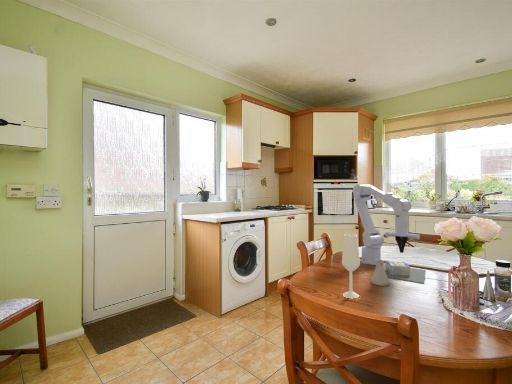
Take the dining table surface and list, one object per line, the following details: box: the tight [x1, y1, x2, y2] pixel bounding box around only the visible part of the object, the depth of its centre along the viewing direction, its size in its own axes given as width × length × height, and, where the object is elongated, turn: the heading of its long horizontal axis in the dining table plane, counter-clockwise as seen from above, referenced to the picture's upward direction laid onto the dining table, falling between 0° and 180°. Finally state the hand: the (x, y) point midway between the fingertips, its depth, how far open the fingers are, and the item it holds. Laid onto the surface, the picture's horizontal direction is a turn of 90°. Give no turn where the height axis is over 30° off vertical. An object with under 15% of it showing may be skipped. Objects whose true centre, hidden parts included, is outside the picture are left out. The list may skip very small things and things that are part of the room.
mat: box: [383, 263, 427, 285], centre depth 126 cm, size 18×20×1 cm
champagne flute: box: [341, 233, 361, 300], centre depth 102 cm, size 7×7×24 cm
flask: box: [370, 259, 390, 287], centre depth 114 cm, size 7×7×10 cm
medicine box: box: [385, 260, 411, 276], centre depth 126 cm, size 8×4×9 cm
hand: (401, 252), depth 127 cm, fingers closed
